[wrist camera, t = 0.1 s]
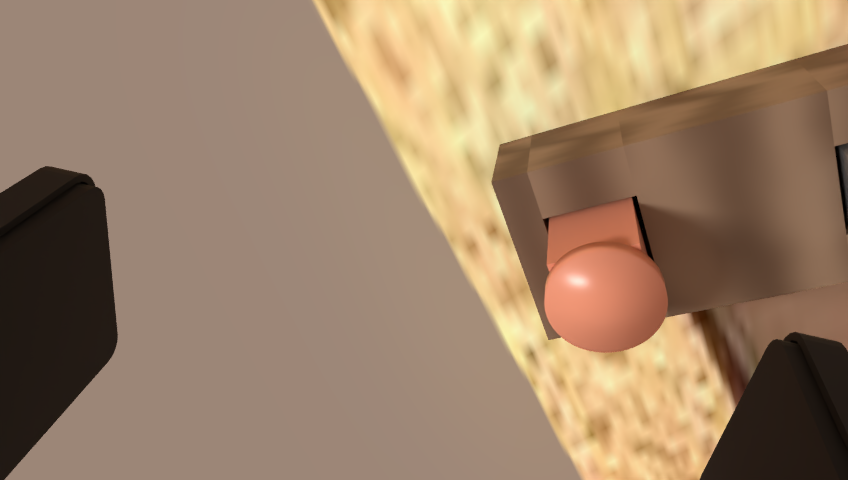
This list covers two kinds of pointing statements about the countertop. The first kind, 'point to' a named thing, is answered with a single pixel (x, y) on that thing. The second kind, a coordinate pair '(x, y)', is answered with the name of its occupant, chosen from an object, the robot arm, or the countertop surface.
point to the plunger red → (602, 279)
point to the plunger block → (702, 184)
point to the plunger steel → (843, 174)
